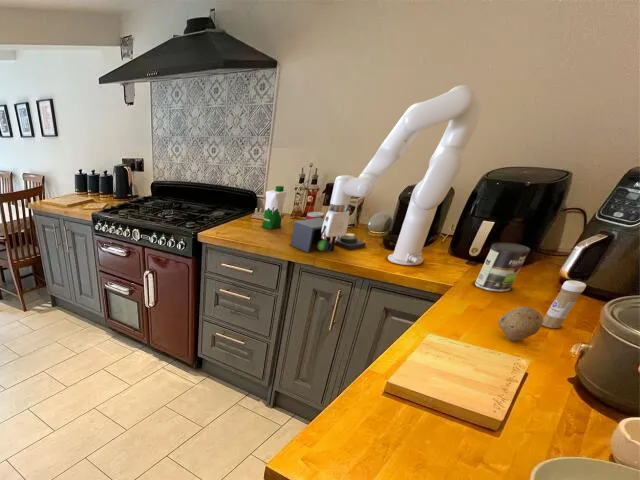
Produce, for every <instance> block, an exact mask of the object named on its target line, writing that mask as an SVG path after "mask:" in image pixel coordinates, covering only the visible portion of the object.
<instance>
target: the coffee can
mask: <svg viewBox="0 0 640 480" xmlns="http://www.w3.org/2000/svg"><path fill="white" fill-rule="evenodd" d="M490 246H491V247H490V249H489V252H488V254H487V256H486V258H485V260H484V263H483V265H482V267H481V269H480V272H479V273H478V276H477V278H476V279H475V282H474V285H475V286H476V287H477V288H479V289H482V290H485V291H491V292H497V293H498V292H509V291H511V287H512V285H513V284H514V282H515V279H516V278H517V276H518V274H519V272H520V270H521V268H522V266H523V265H524V262H525V260H526V259H527V257H528V255H529V253H530V252H531V248H530V247H528V246H526V245H523V244H518V243H511V242H496V243H492V244H491V245H490Z"/></svg>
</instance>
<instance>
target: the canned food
mask: <svg viewBox="0 0 640 480" xmlns="http://www.w3.org/2000/svg"><path fill="white" fill-rule="evenodd" d="M313 218H323V219H325V212H322V211H309V212H307V214H306V219H305V220H307V219H313Z"/></svg>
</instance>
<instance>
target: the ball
mask: <svg viewBox="0 0 640 480" xmlns="http://www.w3.org/2000/svg"><path fill="white" fill-rule="evenodd" d="M326 243H327V242H326V240H320V241H319V242H318V243H316V248H317V250H318V251H320V252H325V248H326Z"/></svg>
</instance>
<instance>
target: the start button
mask: <svg viewBox="0 0 640 480" xmlns="http://www.w3.org/2000/svg"><path fill="white" fill-rule="evenodd" d="M355 235H356V234H355V233H351V232H349V233H347V232H346V234H344V236H345V237H344V238H346V239H354V236H355ZM355 237H356V236H355Z"/></svg>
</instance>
